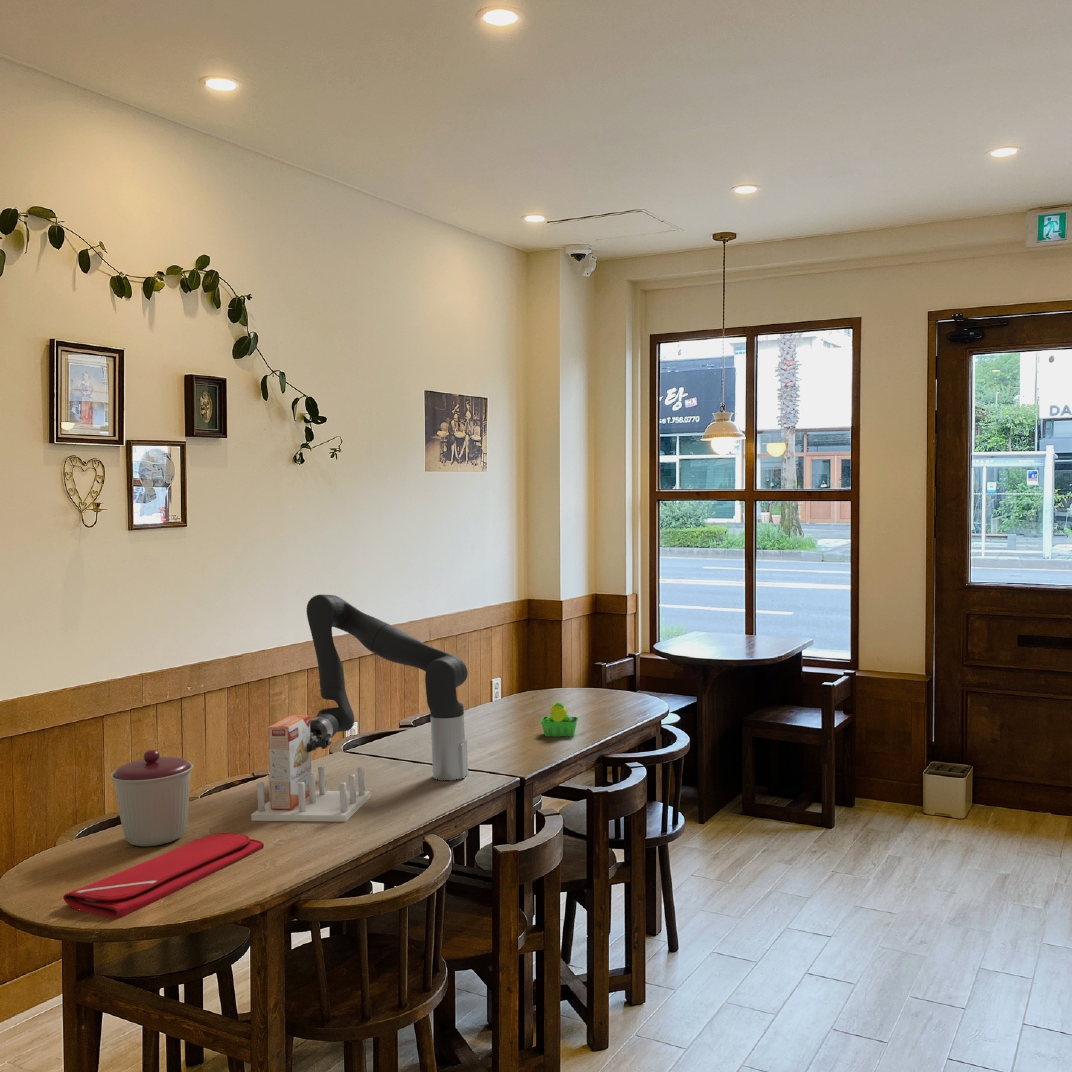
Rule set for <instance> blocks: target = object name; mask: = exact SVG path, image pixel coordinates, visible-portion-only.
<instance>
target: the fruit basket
mask: <svg viewBox="0 0 1072 1072" xmlns="http://www.w3.org/2000/svg"><path fill="white" fill-rule="evenodd" d="M567 711H568V710H567V709H566V707H565V706H564V705H563V704H562V702H561V701H556V702H555V703H553V704H552V705H551V709H550V714H549V715H550V716H543V717H542V719H541V720H540V724H541V728H542V730H543V733H544V736H545V737H560V736H566V737H567V736H570V737H572V738H573V737H574V735H575V733H576V728H577V725H578V724H577V722H578V720H579V717H578V716H571V715H568V714H567Z"/></svg>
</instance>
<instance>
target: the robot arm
mask: <svg viewBox="0 0 1072 1072" xmlns="http://www.w3.org/2000/svg"><path fill="white" fill-rule="evenodd" d="M306 618H307V621H308V626H309V630H310V633H311V637H312V642H313V646H314V651H315V656H316V661H317V667H318V677H319V678H318V679H319V688H320V689H319V690H320V696H321V698H322V699H323V700H328V701H329V700H331V701H333V702H335V703H336V704H337V706H338V707H337V706H336V707H327V708H323V709H320V710H319V711H317V714H316V717H314V718H310V738H311V742H309V743H308V744H307V752H311V753H312V751H313V752H314V751H316V750H319V749H320V748H321V749H323V750H325V749H327V748H328V747H329V746H330V745H332V738H333V737H334V736H336V734H337V733H339V732H341V733H342V732H348V731H351V729H353V727H354V725H355V715H354V712H353V709H352V705H351V704H350V701H349V698H348V695H347V692H346V684H345V683H346V682H345V671H344V666H343V664H342V660H341V658H340V656H339V653H338V651H337V649H336V646H335V643H334V637H333V628H336V629H338V630H341V631H344V632H345V633H347V634H350V635H352V636H353V637H354V638H356V639H357V640H358V641H359V642H360V643H361V644H362V646H364V648H366V649H367V650H368V651H369V652H371V653H373V654H375V655H377V656H379V657H380V658H382V659H384V660H386V661H390V662H392V663H394V664H395V663H396V664H399V665H404V666H409V667H414V668H416V669H419V670H422V671H424V673H425V674H424V683H425V685H424V686H425V696H426V703H427V707H428V709H429V712H430V734H431V735H430V736H431V737H430V738H431V758H432V759H431V760H432V761H431V762H432V777H433V779H435V780H437V779H438V781H443V780H444V781H445V780H449V781H457V780H462V779H461V778H464V779H465V778H466V777H467V776H468V774H469V764H468V763H469V762H468V740H467V739H466V735H465V709H464V704H463V703H462V702H460V701H459V699H458V697H457V695H458V694H457V688H458V687H461V685H463V684H464V683H465V682H466V681H467V678H468V675H469V674H468V673H469V672H468V668H467V666H466V664H465V662H464V661H463V660H462V659H461V658H460V657H458V656H456V655H454V654H451V653H449V652H446V651H443V650H440V649H438V648H435V647H434V646H431V645H428V644H426V643H425V642H423V641H421V640H419V639H418V638H416V637H414V636H412V635H410V634H408V633H406V632H405V631H403V630H401V629H400V628H397V627H395V626H393V625H392V624H390V623H387V622H385V621H383V620H380V619H379V618H376V617H374V616H372V615H369V614H367V613H364V612H362V611H361V610H360V609H358V608H357V607H355V606H353V605H352V604H350V603H349V602H347V601H346V600H345V599H344V598H341V597H339V596H337V595H335V594H316V595H314V596H312V597H311V598H310V599H309V600H308V603H307V604H306ZM465 776H466V777H465ZM456 779H457V780H456Z"/></svg>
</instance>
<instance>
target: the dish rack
mask: <svg viewBox="0 0 1072 1072" xmlns="http://www.w3.org/2000/svg"><path fill="white" fill-rule="evenodd" d="M317 770H318V774H317V775H318V776H317V777H318V790H316V775H315V773H313V774H310V775H308V780H309V797H307V798H306V799H305V783H304V782H299V783H298V796H299V804H298V805H297V806H295V807H294V808H293V809H292V810H282V809H271V797H270V774H268V796H269V801H268V802H266V803H265V786H264V784H265V783H264V781H257V782H256V789H257V791H256V792H257V793H256V796H257V810H256V811H253V813H251V814H250V818H251V819H250V820H251V821H252V822H253V821H254V822H255V821H256V822H257V821H258V822H340V823H341V822H345V823H346V822H347V821H348V820H349V819H350V818H351V817H352V816H353V815H354V814H355V813H357V811H359V809H360V808H361V807H362V806H363V805H364V804H365V803H367V802H368V800H369V799H371V797H372V793H371V790H366V788H365V787H366V785H365V767H364V766H359V767H357V785H358V787H357V786H356V774H348V788H349V789H348V790H347V782H339V784H338V785H339V790H326V776H325V775H326V773H325V767H324V766H319V767H317Z"/></svg>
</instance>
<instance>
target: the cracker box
mask: <svg viewBox="0 0 1072 1072" xmlns="http://www.w3.org/2000/svg"><path fill="white" fill-rule="evenodd" d="M310 720H311V716H310V715H307V714H305V715H304V714H299V715H298V714H297V715H295V714H294V715H293V714H292V715H288V716H287V717H285V718H283V719H281V720H279V721H277V722H275V723H273V724H271V725H269V726H268V727H267V729H268V730H267V734H268V736H267V737H268V738H267V739H268V740H267V741H268V765H269V775H270V797H271V809H282V810H292V809H293V808H294V807H295V806H297V805H298V804H299V796H298V783H299V782H304V783H305V799H306V798H307V797H309V780H308V775H310V774H312V772H313V771H312V751H311V752H307V744H308V743H309V742H311V738H310Z"/></svg>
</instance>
